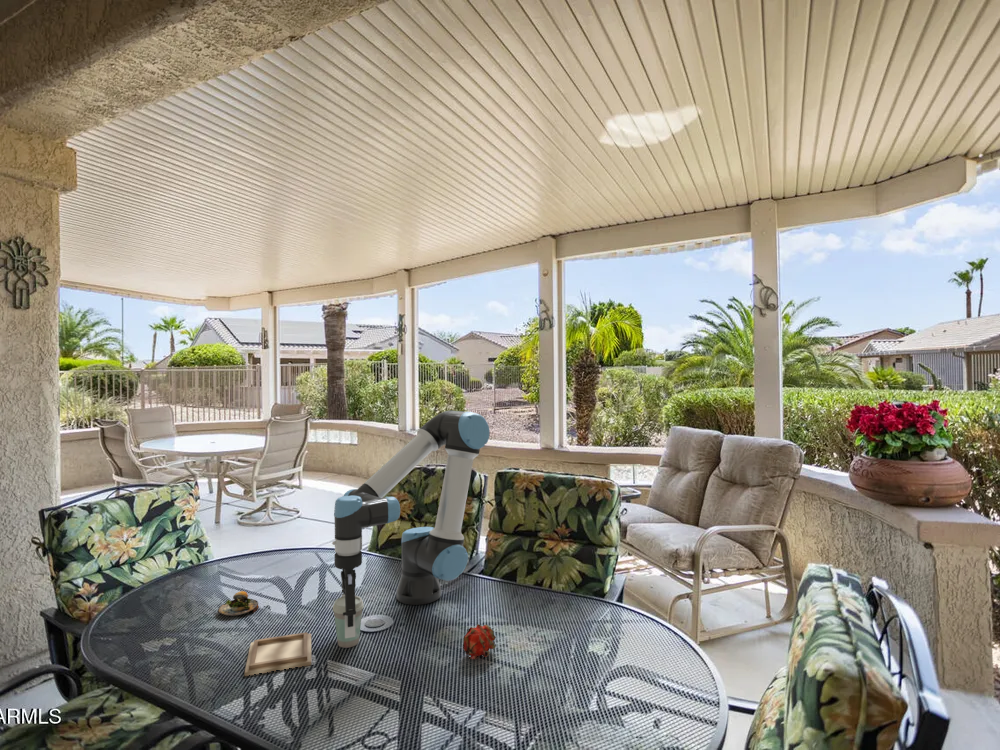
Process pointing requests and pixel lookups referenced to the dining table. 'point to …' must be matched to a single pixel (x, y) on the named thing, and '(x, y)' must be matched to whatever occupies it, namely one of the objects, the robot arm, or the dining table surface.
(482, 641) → the dragon fruit
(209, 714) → the dining table surface
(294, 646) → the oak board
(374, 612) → the dining table surface
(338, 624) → the coffee cup
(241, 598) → the burger
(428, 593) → the robot arm
